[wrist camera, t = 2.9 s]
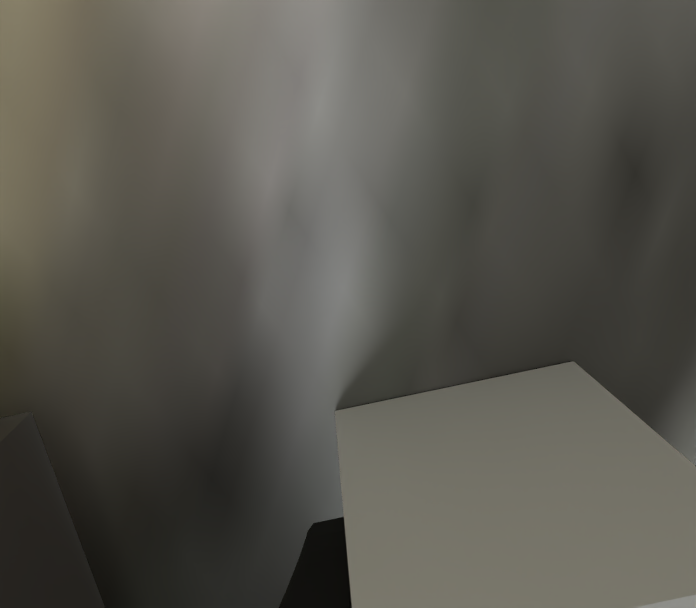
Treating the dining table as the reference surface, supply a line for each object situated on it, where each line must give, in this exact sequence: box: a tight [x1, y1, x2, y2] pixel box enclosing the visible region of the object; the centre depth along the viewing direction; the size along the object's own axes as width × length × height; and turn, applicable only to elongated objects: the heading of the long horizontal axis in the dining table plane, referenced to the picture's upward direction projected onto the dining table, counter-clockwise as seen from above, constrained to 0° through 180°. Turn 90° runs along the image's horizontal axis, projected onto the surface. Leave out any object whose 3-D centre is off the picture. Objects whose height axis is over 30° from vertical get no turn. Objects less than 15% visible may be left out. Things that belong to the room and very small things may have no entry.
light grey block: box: [335, 361, 696, 608], centre depth 8 cm, size 4×4×5 cm
